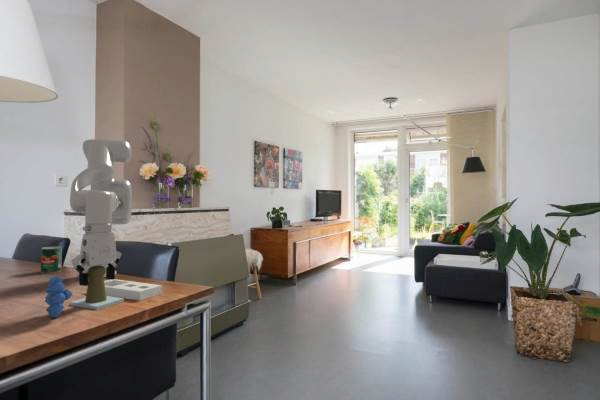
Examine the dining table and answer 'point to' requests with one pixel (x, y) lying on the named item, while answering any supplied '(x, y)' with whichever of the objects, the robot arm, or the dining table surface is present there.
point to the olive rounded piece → (96, 285)
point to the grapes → (56, 296)
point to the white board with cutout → (131, 289)
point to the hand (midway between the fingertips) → (97, 282)
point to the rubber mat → (98, 305)
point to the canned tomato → (51, 259)
